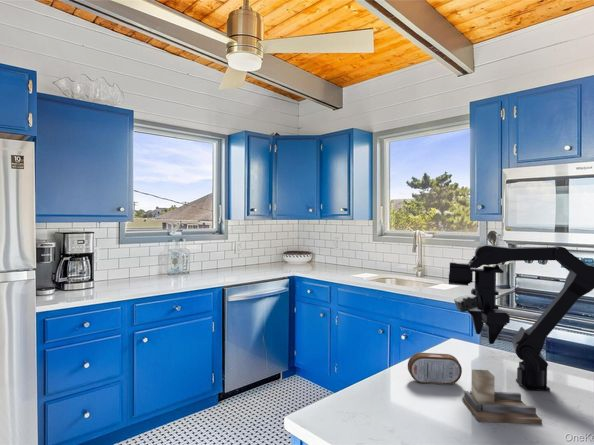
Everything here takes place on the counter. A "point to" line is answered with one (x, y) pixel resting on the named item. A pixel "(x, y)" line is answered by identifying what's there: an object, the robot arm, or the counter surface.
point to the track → (502, 409)
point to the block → (483, 386)
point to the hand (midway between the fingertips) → (484, 338)
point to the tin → (434, 368)
